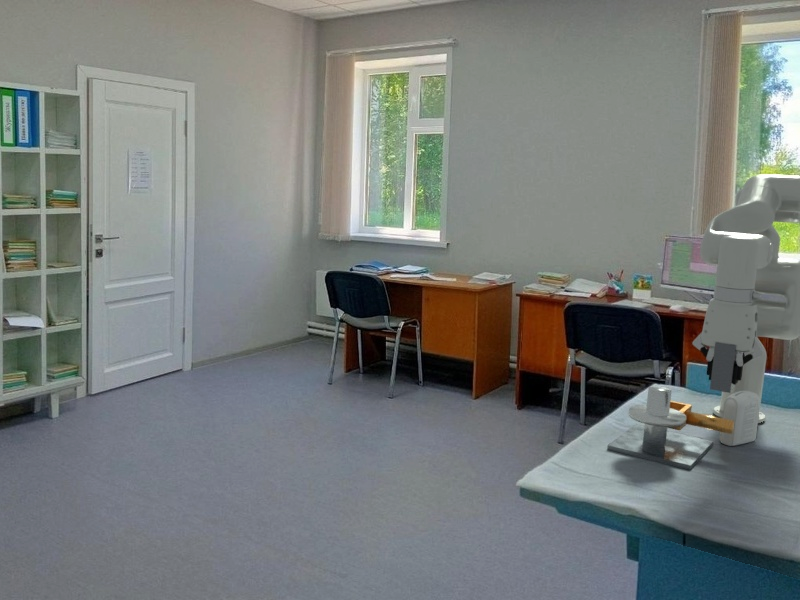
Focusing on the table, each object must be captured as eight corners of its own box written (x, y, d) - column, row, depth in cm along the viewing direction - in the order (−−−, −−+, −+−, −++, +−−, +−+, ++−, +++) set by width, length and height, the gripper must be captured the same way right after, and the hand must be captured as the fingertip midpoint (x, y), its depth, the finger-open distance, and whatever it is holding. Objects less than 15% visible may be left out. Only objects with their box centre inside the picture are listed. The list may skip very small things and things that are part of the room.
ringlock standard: (635, 427, 185) (641, 368, 183) (734, 450, 172) (742, 387, 170) (604, 451, 167) (610, 386, 165) (711, 478, 154) (720, 408, 152)
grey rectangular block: (715, 384, 162) (720, 339, 161) (734, 387, 160) (740, 342, 159) (709, 389, 158) (715, 342, 157) (730, 392, 156) (735, 345, 155)
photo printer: (741, 435, 183) (747, 386, 181) (758, 441, 180) (764, 391, 178) (716, 442, 177) (722, 391, 175) (732, 448, 174) (739, 396, 172)
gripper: (780, 298, 155) (769, 385, 158) (695, 289, 164) (686, 370, 167) (774, 303, 148) (763, 392, 151) (687, 292, 158) (677, 377, 161)
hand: (723, 380), depth 159 cm, fingers closed on grey rectangular block, 4 cm apart
